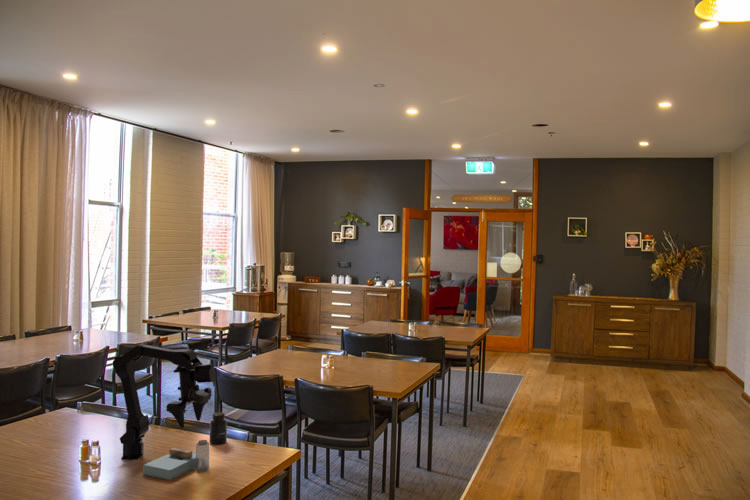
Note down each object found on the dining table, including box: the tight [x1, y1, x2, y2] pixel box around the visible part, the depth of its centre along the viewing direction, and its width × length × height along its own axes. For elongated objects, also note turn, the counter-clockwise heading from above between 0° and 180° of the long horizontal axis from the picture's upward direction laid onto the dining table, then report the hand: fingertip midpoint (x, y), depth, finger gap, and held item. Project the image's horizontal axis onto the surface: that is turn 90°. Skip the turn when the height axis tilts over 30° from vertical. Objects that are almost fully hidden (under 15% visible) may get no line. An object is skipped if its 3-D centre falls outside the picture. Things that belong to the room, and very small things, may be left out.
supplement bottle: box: [209, 412, 228, 446], centre depth 235 cm, size 7×7×12 cm
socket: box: [143, 450, 196, 481], centre depth 207 cm, size 12×18×4 cm, turn 157°
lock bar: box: [168, 447, 193, 458], centre depth 209 cm, size 9×2×2 cm, turn 67°
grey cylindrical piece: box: [195, 439, 210, 474], centre depth 205 cm, size 5×5×10 cm
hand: (190, 424), depth 216 cm, fingers open, 9 cm apart
